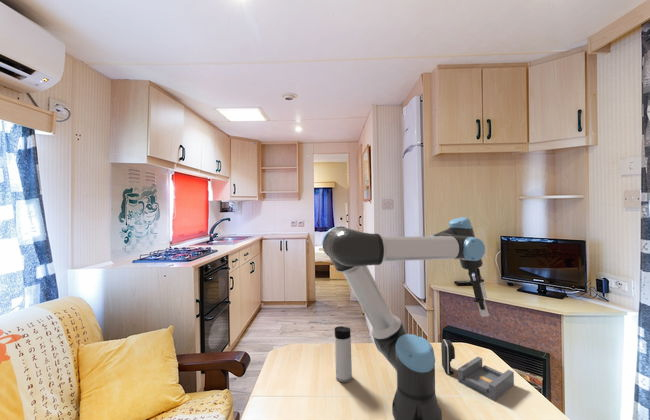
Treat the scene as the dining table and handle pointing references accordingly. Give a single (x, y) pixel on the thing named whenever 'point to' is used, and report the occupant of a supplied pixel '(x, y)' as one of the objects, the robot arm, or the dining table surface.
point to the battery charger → (447, 355)
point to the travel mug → (343, 354)
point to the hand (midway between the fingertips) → (484, 306)
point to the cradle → (485, 379)
